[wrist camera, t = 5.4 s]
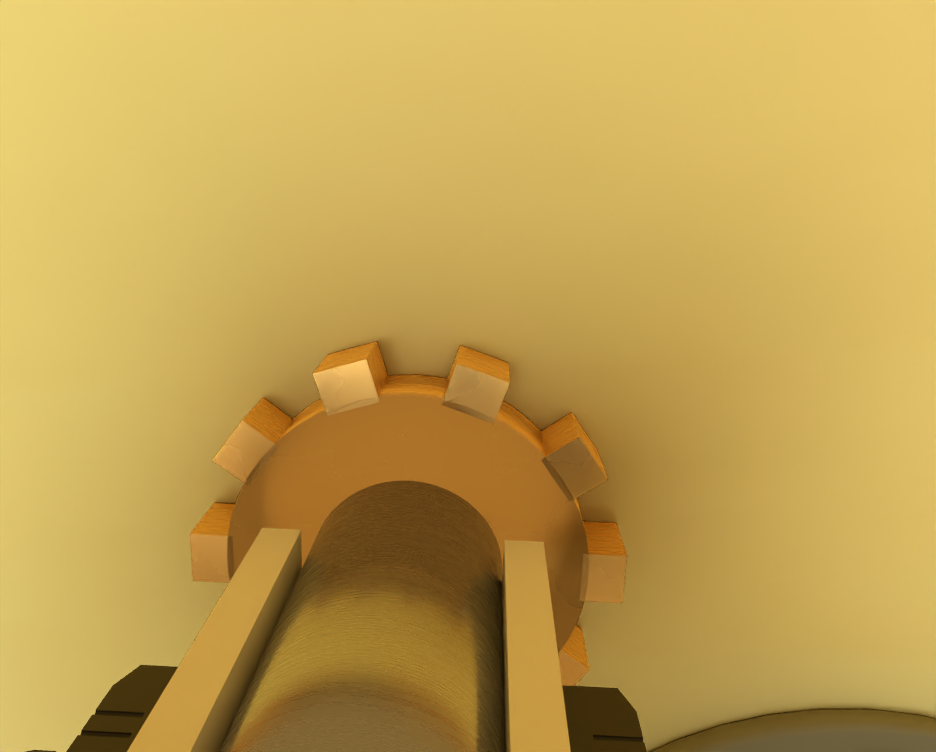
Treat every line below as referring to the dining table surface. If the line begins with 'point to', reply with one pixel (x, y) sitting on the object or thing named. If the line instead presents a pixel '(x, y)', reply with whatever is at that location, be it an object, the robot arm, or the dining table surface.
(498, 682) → the sun gear
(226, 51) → the dining table surface
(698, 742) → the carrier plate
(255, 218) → the dining table surface
